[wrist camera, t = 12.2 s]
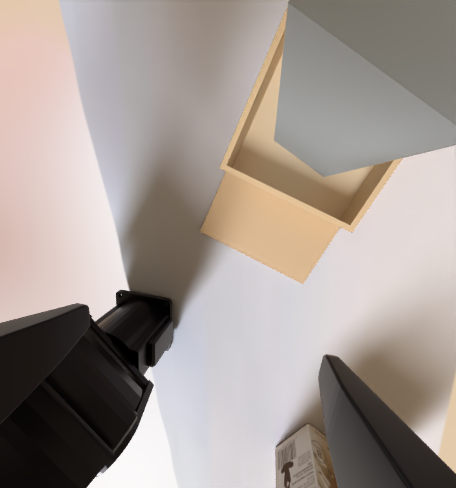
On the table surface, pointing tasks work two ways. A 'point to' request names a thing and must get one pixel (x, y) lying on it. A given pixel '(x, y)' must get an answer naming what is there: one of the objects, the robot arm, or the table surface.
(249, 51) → the table surface
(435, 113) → the slate block
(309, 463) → the coffee box
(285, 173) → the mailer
